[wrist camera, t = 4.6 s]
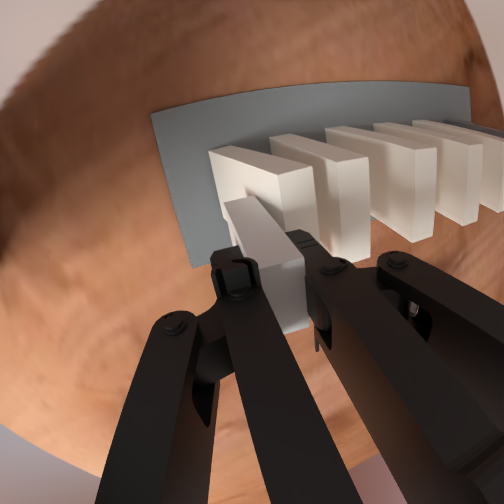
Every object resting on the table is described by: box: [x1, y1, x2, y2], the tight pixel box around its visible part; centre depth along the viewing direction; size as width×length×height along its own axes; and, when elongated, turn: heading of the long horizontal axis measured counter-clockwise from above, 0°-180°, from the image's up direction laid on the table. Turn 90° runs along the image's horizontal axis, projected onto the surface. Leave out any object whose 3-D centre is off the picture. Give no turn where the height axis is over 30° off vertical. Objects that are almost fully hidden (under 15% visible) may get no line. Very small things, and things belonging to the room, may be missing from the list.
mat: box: [150, 81, 471, 268], centre depth 23 cm, size 30×12×1 cm, turn 100°
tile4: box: [373, 122, 483, 226], centre depth 19 cm, size 2×5×10 cm, turn 10°
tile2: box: [269, 134, 371, 263], centre depth 17 cm, size 2×5×10 cm, turn 10°
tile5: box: [412, 120, 504, 213], centre depth 19 cm, size 2×5×10 cm, turn 10°
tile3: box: [325, 126, 437, 243], centre depth 18 cm, size 2×5×10 cm, turn 10°
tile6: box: [444, 119, 504, 138], centre depth 20 cm, size 2×5×10 cm, turn 10°
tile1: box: [208, 145, 320, 244], centre depth 17 cm, size 2×5×10 cm, turn 9°
